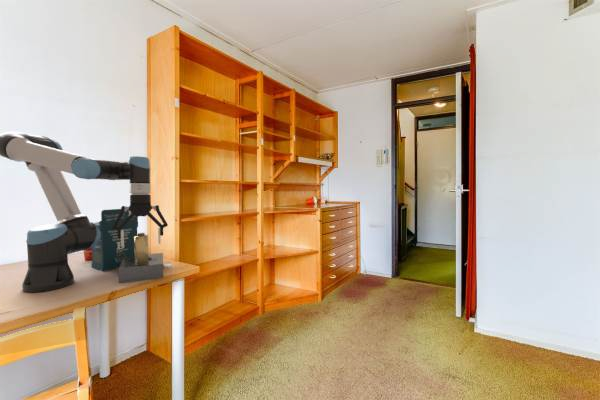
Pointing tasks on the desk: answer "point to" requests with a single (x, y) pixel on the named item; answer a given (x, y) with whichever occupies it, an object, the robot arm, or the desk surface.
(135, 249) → the tan upright cylinder
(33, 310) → the desk surface
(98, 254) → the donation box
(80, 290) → the desk surface
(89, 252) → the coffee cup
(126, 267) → the housing
